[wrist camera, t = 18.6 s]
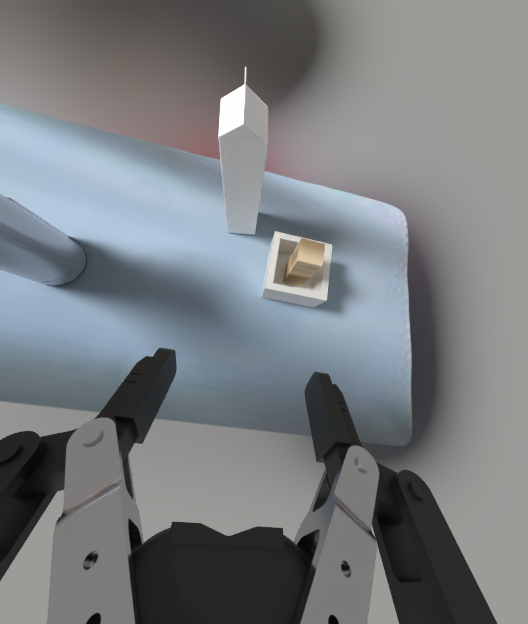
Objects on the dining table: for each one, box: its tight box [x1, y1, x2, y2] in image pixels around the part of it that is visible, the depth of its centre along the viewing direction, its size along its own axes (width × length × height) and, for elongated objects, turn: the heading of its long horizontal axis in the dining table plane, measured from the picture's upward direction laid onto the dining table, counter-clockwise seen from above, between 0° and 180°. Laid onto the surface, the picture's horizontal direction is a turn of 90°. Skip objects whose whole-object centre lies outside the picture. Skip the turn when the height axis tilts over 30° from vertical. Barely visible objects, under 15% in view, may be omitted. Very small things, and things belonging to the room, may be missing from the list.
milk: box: [218, 67, 268, 235], centre depth 31 cm, size 6×6×22 cm
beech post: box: [283, 238, 325, 287], centre depth 34 cm, size 4×4×10 cm
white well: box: [261, 231, 332, 308], centre depth 37 cm, size 11×11×6 cm
